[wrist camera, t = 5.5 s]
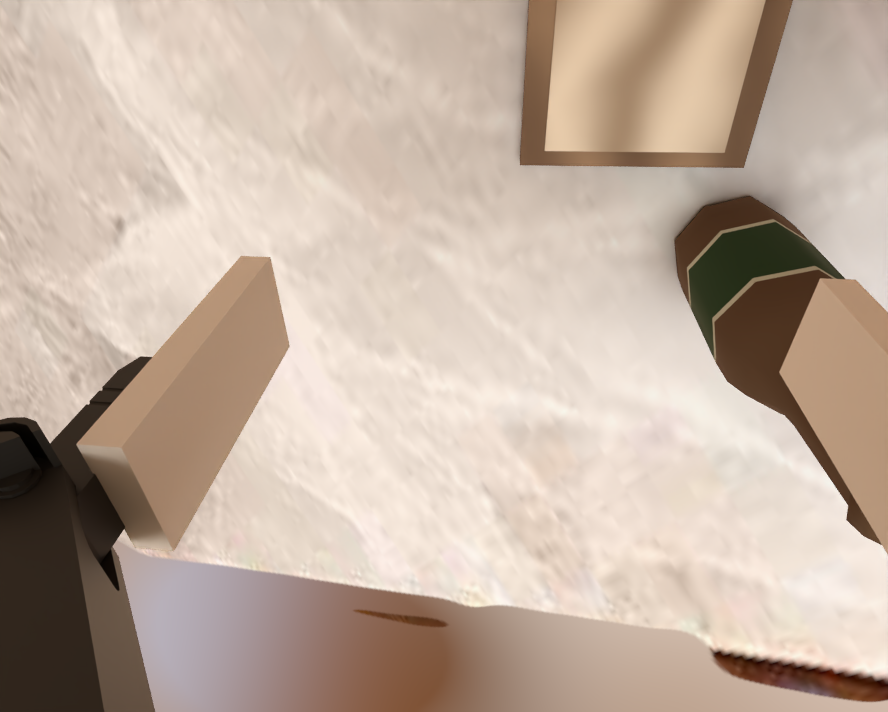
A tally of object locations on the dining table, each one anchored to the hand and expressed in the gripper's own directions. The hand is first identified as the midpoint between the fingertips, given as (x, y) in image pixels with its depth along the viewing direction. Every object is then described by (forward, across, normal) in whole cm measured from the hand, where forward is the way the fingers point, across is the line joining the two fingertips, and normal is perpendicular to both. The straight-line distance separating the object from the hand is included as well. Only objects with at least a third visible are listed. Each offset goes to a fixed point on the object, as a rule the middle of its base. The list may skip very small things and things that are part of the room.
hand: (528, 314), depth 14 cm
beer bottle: (+27, -15, +10) cm, 33 cm away
